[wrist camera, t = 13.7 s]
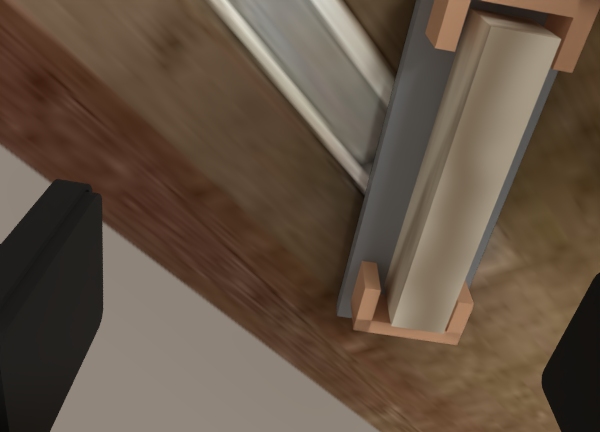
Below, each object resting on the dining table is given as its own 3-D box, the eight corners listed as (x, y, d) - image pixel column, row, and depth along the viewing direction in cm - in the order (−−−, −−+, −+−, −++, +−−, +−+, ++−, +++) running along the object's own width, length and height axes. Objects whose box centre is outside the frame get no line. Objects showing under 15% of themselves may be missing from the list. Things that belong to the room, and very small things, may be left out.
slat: (531, 18, 36) (561, 39, 32) (431, 291, 47) (443, 333, 43) (470, 7, 36) (491, 26, 31) (384, 284, 47) (391, 326, 43)
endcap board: (593, -45, 35) (631, -33, 31) (447, 320, 51) (459, 362, 46) (435, -75, 35) (452, -68, 30) (336, 304, 50) (338, 345, 46)
